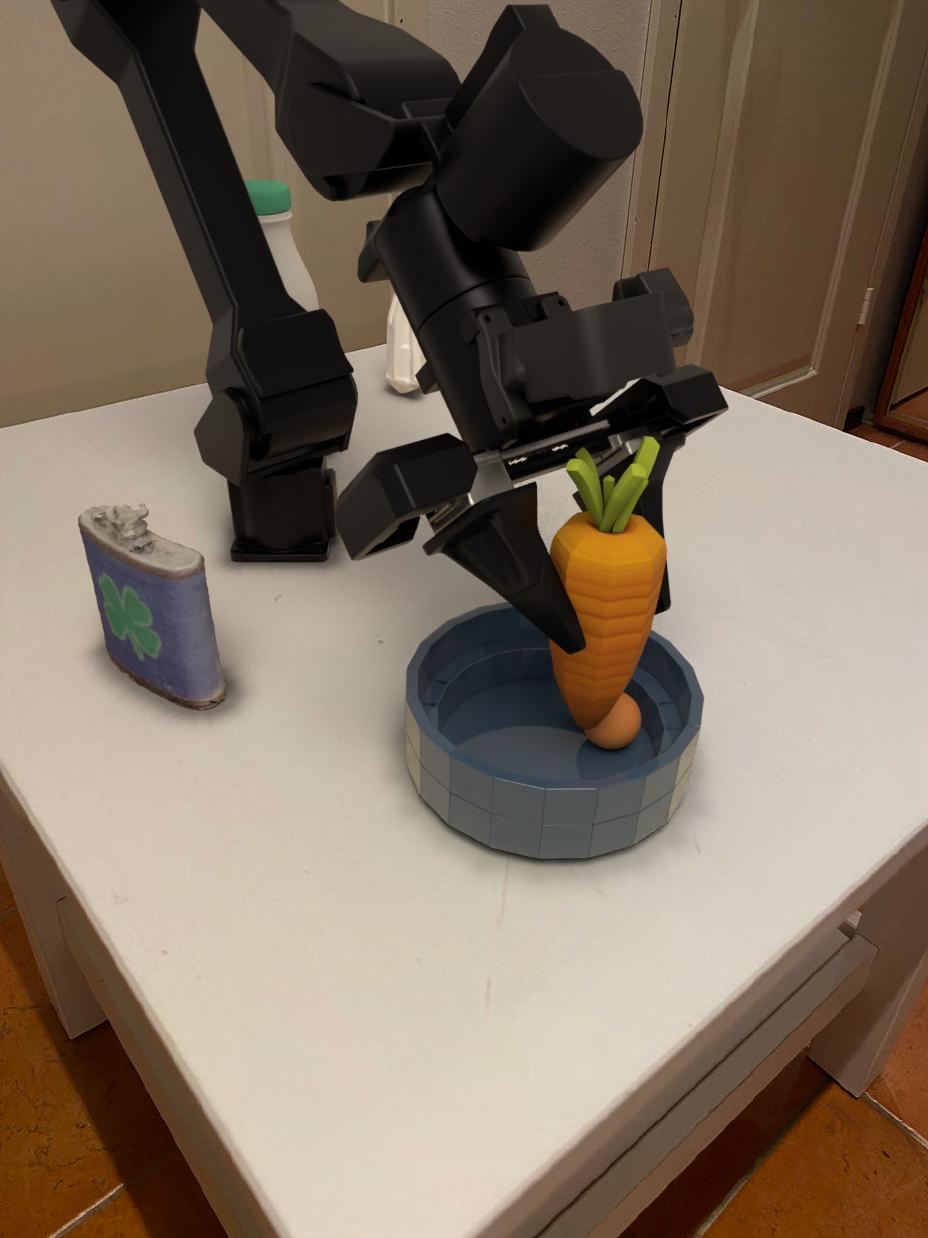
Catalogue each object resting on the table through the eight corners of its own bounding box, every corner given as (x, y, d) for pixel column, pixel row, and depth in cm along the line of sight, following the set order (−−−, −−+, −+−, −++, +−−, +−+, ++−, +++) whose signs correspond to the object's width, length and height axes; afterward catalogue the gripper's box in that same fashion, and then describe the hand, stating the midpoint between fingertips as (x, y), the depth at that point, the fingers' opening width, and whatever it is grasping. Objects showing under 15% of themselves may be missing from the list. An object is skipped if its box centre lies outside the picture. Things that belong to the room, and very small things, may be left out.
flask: (236, 694, 51) (208, 524, 45) (193, 722, 49) (158, 549, 43) (135, 630, 56) (97, 468, 50) (91, 653, 54) (46, 488, 48)
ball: (578, 743, 46) (609, 691, 45) (565, 721, 49) (593, 672, 48) (629, 768, 46) (660, 717, 46) (613, 744, 49) (642, 696, 49)
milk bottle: (314, 470, 74) (292, 197, 62) (220, 461, 75) (182, 191, 63) (340, 430, 80) (324, 176, 68) (253, 423, 81) (224, 170, 69)
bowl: (404, 869, 42) (402, 790, 39) (409, 671, 53) (408, 599, 50) (717, 865, 42) (738, 787, 39) (654, 670, 54) (667, 598, 51)
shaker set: (421, 405, 85) (421, 280, 78) (377, 400, 85) (373, 276, 79) (452, 360, 94) (454, 245, 88) (412, 356, 95) (411, 242, 89)
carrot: (533, 759, 44) (558, 465, 35) (536, 692, 48) (560, 414, 39) (639, 767, 43) (691, 474, 35) (634, 700, 47) (679, 422, 39)
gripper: (357, 228, 30) (558, 669, 29) (734, 176, 40) (895, 509, 39) (268, 388, 40) (418, 724, 39) (589, 316, 49) (715, 585, 48)
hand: (621, 631), depth 41 cm, fingers closed on carrot, 5 cm apart
